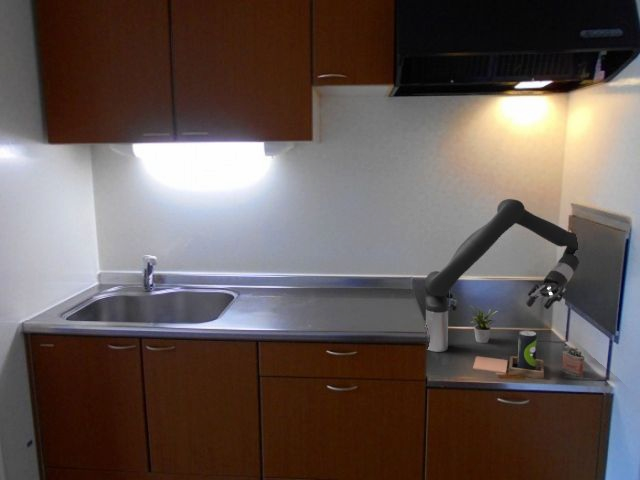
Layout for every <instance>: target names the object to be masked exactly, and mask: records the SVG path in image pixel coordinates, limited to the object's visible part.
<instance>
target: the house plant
mask: <svg viewBox="0 0 640 480" xmlns="http://www.w3.org/2000/svg"><path fill="white" fill-rule="evenodd" d="M470 307H471V308H472V309H473V310H474V311H472V310H471V314H472V315H474V316H472V317H471V318H472V319H473V320H471V319H470V318H468V320H470V323H469V325H470V324H473V323H477V324H476V325H474V326H473V328H474V336H475V341H476V342H477V343H480V344H487V343H489V338H490V333H491V327H490V325H491V324H494V322H495V320H494V319H490V318H491V317H492V316H493V315H494V314H495V313H497V312H499V310H495V311H494V312H493V313H491V314H490V312H491V309H489V310H488V312H487V314H486V315H485V316H484V312H485V311H486V309H483V311H482V309H481V308H480V306H479V305H477V308H478V309H477V310H478V312H477V310H476V309H475V307H474V306H472V305H470Z"/></svg>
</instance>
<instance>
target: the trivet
mask: <svg viewBox="0 0 640 480" xmlns="http://www.w3.org/2000/svg"><path fill="white" fill-rule="evenodd" d="M508 361H509V359H508V360H507V359H501V358H492V357H483V356H478V355H476V356H475V359H474V363H473V367H472V369H473V370H475V371H483V372H490V373H497V374H504V375H506V374H507V368H508Z"/></svg>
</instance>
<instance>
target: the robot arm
mask: <svg viewBox="0 0 640 480" xmlns="http://www.w3.org/2000/svg"><path fill="white" fill-rule="evenodd" d="M515 224H516V225H519V226H521V227H523V228H526V229H527V230H528V231H531V232H532V233H534V234H536V235H537V236H539V237H541V238H542V239H544V240H545V241H547V242H549V243H551V244H553V245H555V246H557V247H560V248H561V247H563V248H564V247H566V248H565V249H564V251H563V254H562V256H561V257H560V259H559V260H558V261H557V263H556V264H555V265H553V267H552V268H551V269H550V271H549V272H548V274H547V275H546V276H545V277H544V279H543V284H541V285H538V283H537V284H535V285H534V286H533V287H532V288H531V290H530V291H528V293H527V295H528V297H529V299H528V300H527V301H526V303H525V304H526V306H527V307H529V308H532V306H533V305H534V303H535V302H536V301H537V300H538V299H542V298H545V297H547V299H546V301H545V302H544V303H543V307H544V308H545V310H549V309H550V308H551V307H552V305H553V304H554V303H556V302H561V301H562V299H563V297H564V296H565V294H566V293H567V289H566V288H565V287H566V285H567V284H568V283H569V281H570V280H571V278H572V276H573V274H574V273H576V270H577V269H578V268H577V267H579V266H578V264H579V265H580V260H578V258H577V257H576V256H574V255H573V254H574V253H575V251H576V250H578V242H577V237H576V234H577V233H576V234H575V232H571V231H568V230H566V229H564V227H563V228H562V226H559V225H557V224H555V223H553V222H551V221H548V220H546V219H544V218H541V217H540V216H537V215H535V214H533V213H532V212H530V211H528V210H527V209H525V205H524V203H523V202H521V201H520V200H518V199H514V198H513V199H512V198H508V199H504V200H502V201H501V202H499V204H498V205H497V212H496V214H495V215H493V217H492V218H491V219H490V221H488V222H487V223H486V224H484V225H482V226H481V227H480V228H478V229H477V230H476V231H474V232H473V233H471V234H470V235H469V236H468V237H467V238H466V239H465V240H464V242H462V243H461V244H460V245H459V246H458V248H457V249H456V251H455V252H454V254H453V256H452V258H451V259H450V261H449V262H448V264H446V266H445V267H443V268H442V269H441V270H440V271H436V270H435V271H431V272H430V273H428V274H427V275H426V278H425V280H424V281H425V283H424V288H425V290H424V292H425V293H424V294H425V295H424V296H425V297H424V300H425V301H424V302H425V326H426V325H427V328H428V331H429V335H430V343H429V347H428V349H427V350H428V351H431V352H436V353H437V352H439V353H441V352H445V351H447V350H448V346H449V343H448V340H449V339H448V338H449V334H448V333H449V332H448V331H449V301H448V292H449V291H450V290H451V288H452V287H453V286H454V285H455V283H457V282H458V280H459V279H460V278H461V277H462V276H463V275H464V274H465V273H466V272H467V271H468V270H469V269H470V268H471V267H472V266H474V264H475V263H477V262H478V261H479V260H480V259H481V258H482V257H483V256H484V255H485V254H486V253H487V252H488V251H489V250H490V249H491V247H492V246H494V244H495V243H496V242H497V241H498V240H499V239H500V238H501V236H503V235H504V233H506V232H507V231H508V230H509V229H511V228H512V227H513V226H514V225H515Z"/></svg>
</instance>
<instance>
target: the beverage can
mask: <svg viewBox="0 0 640 480" xmlns="http://www.w3.org/2000/svg"><path fill="white" fill-rule="evenodd" d="M537 338H538V336H537V333H536V332H535V331H533V330H527V329H525V330H524V329H523V330H520V331H519V333H518V345H517V346H518V347H517V348H518V349H517V351H518V353H517V357H518V364H517V368H521V369H528V370H536V366H535V363H536V359H537V357H536V356H537Z"/></svg>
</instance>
